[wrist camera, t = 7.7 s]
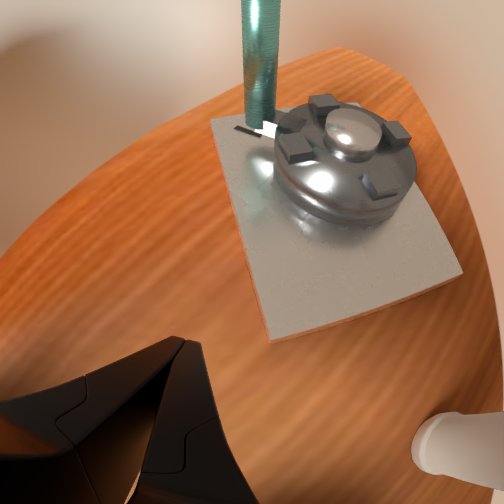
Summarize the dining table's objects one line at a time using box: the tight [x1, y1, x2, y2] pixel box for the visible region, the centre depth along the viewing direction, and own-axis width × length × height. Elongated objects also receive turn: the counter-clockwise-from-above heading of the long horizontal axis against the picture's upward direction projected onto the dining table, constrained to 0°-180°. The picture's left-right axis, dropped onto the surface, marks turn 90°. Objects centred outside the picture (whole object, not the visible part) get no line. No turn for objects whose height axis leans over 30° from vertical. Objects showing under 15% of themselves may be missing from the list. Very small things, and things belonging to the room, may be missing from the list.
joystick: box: [241, 0, 417, 226], centre depth 18 cm, size 16×12×17 cm
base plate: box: [210, 103, 463, 345], centre depth 25 cm, size 22×17×2 cm
